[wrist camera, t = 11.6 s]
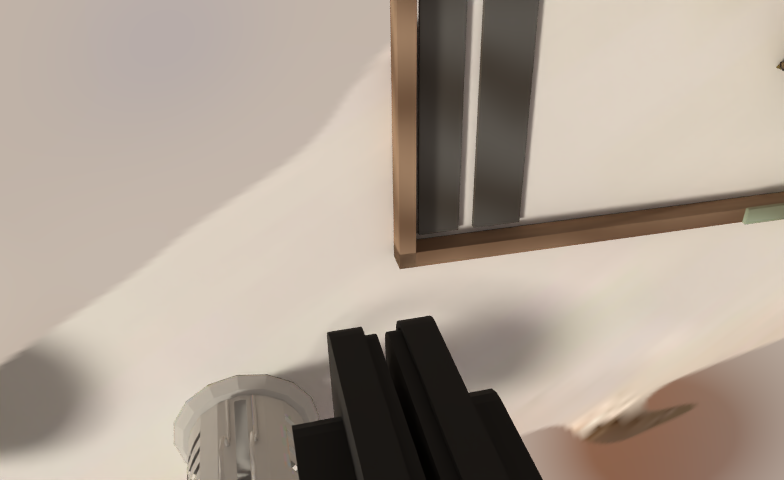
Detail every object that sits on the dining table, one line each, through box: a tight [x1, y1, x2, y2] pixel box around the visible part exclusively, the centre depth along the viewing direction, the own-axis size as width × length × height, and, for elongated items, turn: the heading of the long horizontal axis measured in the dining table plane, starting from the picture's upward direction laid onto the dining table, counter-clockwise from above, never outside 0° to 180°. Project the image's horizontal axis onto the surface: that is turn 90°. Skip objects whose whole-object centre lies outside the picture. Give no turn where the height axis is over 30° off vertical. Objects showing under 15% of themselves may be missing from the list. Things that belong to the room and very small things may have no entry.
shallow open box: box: [390, 0, 784, 269], centre depth 38 cm, size 22×33×4 cm
